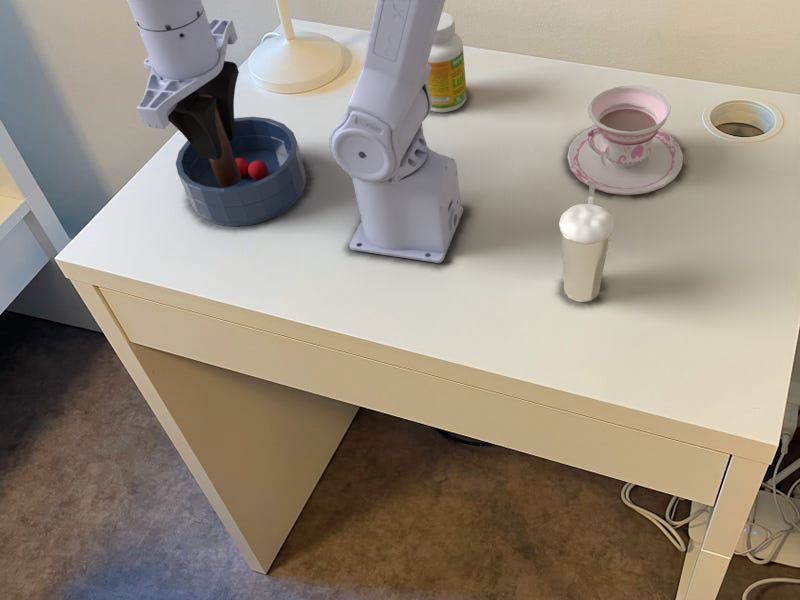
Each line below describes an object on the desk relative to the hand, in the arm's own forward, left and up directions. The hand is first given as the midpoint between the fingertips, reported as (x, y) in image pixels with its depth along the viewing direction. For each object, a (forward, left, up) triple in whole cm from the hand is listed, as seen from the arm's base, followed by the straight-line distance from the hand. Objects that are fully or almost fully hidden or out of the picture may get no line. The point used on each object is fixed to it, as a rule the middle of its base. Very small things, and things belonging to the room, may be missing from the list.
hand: (218, 147), depth 80 cm
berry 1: (+1, -4, -5) cm, 7 cm away
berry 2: (-1, -4, -5) cm, 7 cm away
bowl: (0, -2, -7) cm, 7 cm away
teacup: (-38, -14, -7) cm, 41 cm away
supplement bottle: (-16, -21, -7) cm, 28 cm away
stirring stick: (0, 0, -4) cm, 4 cm away
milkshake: (-37, +5, -7) cm, 38 cm away
